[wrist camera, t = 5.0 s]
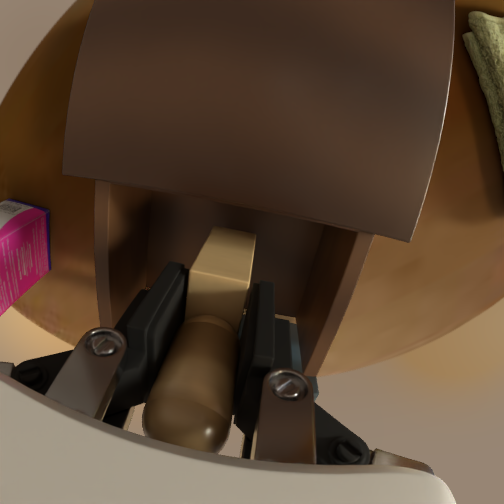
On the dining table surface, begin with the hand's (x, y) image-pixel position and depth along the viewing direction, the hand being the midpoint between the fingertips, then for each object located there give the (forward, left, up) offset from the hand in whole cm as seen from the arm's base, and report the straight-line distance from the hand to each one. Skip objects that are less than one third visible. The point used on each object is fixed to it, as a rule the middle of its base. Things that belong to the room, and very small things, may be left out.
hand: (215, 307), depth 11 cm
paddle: (+1, 0, -4) cm, 4 cm away
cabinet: (-10, 0, -9) cm, 14 cm away
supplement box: (+4, -18, -10) cm, 21 cm away
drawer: (+3, 0, -9) cm, 9 cm away
